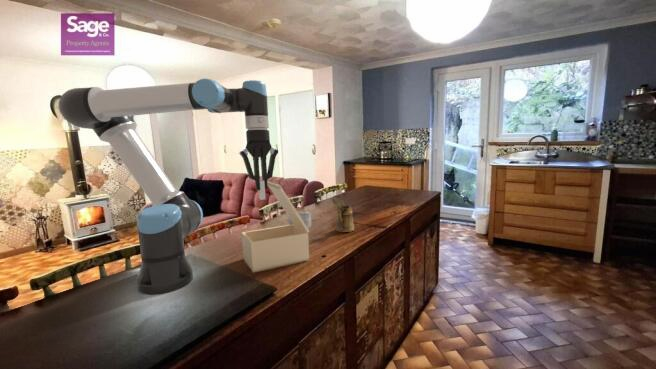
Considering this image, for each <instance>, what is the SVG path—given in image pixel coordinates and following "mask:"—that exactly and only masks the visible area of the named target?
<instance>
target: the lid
mask: <svg viewBox="0 0 656 369" xmlns="http://www.w3.org/2000/svg"><path fill="white" fill-rule="evenodd" d="M267 186H268V188H269V189H270V191H271V192H272V194H273V195H274V197H275V198H276V199H277V201H278V202H279V205H280V206H281V207H282V209H283V210H284V212H285V213H286V215H287V217H288V216H289V218H290V219H291V221H292V222H293V224H294V225H296V226H298V227H299V228H301V229H303V230H304V231H306V232H307V233H308V234H309V233H310V228H309V229H308V228H307V226H306V224H305V223H304V221H303V220H302V218H301V217H300V215H299V214H298V213H299V212H298V211H297V209H296V207H295V206H294V204H293V203H292V201H291V200H290V199H289V196H288V194H286V192H285V190H284V189H283V186H281V184H279V183H276V182H273V181H270V180H267Z"/></svg>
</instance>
